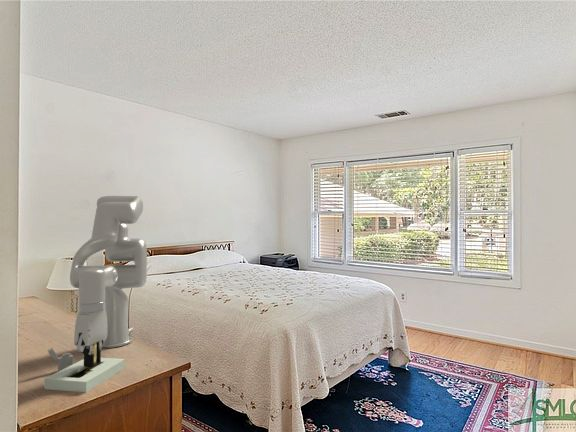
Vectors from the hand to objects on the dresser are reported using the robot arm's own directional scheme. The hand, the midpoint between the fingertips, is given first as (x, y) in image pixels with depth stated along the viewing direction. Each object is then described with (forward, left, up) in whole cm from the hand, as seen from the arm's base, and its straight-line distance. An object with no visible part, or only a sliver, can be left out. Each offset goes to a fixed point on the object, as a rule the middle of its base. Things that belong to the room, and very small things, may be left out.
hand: (92, 364), depth 118 cm
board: (+2, 0, -3) cm, 4 cm away
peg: (0, 0, -3) cm, 3 cm away
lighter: (-1, -13, -4) cm, 13 cm away
